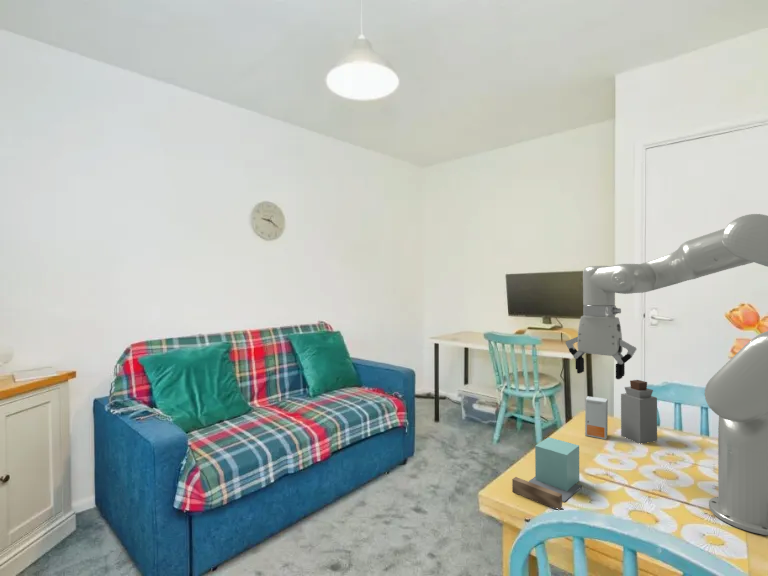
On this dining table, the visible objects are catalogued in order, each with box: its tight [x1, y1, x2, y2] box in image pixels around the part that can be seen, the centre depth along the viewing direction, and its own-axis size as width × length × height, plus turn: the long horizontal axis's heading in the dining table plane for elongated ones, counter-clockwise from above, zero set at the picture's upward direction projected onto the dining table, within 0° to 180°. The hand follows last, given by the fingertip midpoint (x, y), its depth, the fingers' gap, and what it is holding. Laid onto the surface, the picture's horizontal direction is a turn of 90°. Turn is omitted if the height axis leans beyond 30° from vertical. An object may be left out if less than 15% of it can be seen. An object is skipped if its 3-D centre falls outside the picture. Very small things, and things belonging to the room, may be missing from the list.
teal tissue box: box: [534, 437, 580, 491], centre depth 100 cm, size 8×8×9 cm
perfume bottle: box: [620, 379, 658, 445], centre depth 125 cm, size 7×7×18 cm
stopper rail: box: [511, 476, 563, 510], centre depth 91 cm, size 11×2×3 cm, turn 43°
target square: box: [527, 476, 582, 503], centre depth 97 cm, size 10×10×1 cm
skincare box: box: [584, 395, 609, 441], centre depth 128 cm, size 6×4×12 cm
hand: (599, 375), depth 108 cm, fingers open, 9 cm apart
